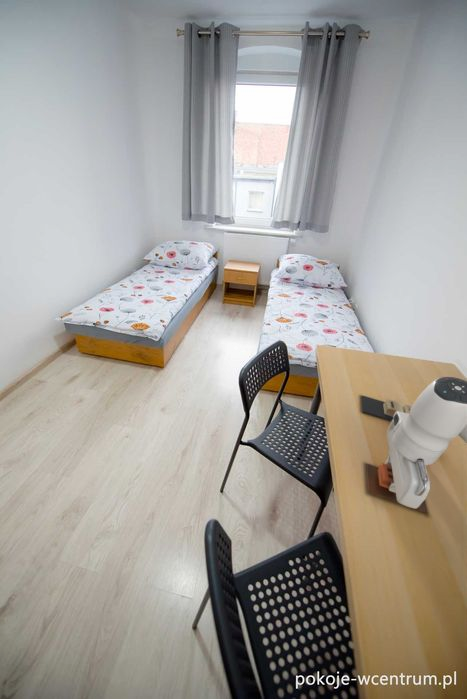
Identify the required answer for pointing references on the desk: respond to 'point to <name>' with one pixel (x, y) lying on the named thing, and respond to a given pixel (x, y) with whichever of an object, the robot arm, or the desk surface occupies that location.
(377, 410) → the felt mat
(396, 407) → the tile
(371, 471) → the walnut board
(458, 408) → the robot arm
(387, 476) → the pause symbol tile
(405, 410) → the tile
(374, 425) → the desk surface
